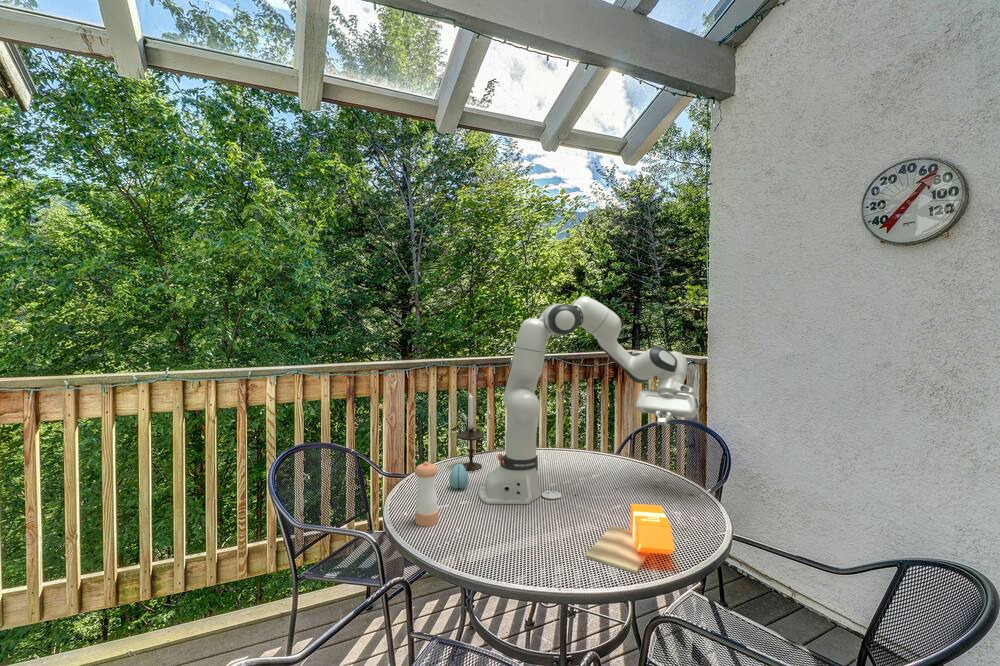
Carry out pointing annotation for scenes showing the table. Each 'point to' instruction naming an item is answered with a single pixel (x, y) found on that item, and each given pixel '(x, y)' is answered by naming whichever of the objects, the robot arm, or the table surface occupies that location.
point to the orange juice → (651, 529)
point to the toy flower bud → (458, 477)
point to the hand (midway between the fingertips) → (661, 424)
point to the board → (618, 550)
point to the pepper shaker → (426, 495)
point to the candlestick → (471, 437)
